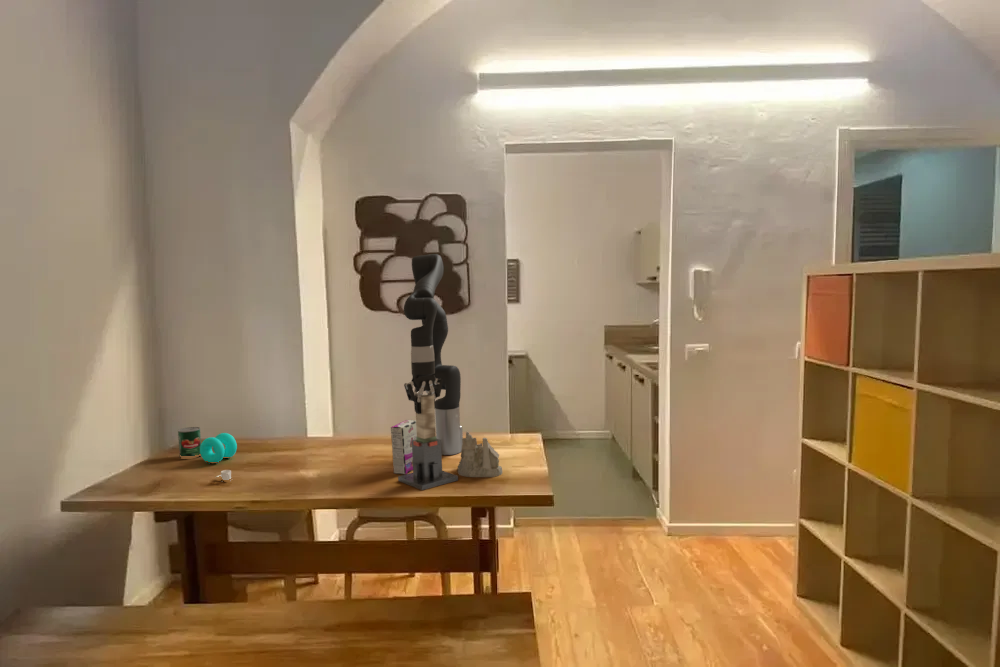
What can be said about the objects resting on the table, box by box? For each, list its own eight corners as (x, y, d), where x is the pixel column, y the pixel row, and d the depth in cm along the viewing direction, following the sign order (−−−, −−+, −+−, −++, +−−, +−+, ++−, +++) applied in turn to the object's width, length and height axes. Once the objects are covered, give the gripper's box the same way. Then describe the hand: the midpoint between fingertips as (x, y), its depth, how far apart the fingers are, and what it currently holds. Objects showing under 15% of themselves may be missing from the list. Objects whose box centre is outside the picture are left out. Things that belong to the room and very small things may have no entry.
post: (428, 453, 217) (426, 394, 215) (437, 456, 213) (434, 395, 211) (416, 456, 214) (414, 396, 212) (425, 459, 210) (422, 397, 208)
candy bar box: (408, 464, 233) (405, 419, 232) (420, 465, 232) (418, 420, 230) (392, 473, 223) (390, 426, 222) (405, 474, 221) (403, 427, 220)
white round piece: (214, 480, 223) (213, 469, 223) (239, 477, 226) (238, 466, 226) (213, 488, 215) (212, 476, 215) (239, 484, 218) (238, 472, 218)
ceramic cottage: (497, 478, 214) (495, 432, 214) (450, 477, 218) (448, 432, 218) (510, 467, 229) (508, 424, 229) (466, 467, 233) (463, 425, 233)
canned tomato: (188, 460, 249) (186, 432, 249) (175, 458, 253) (173, 430, 253) (206, 455, 256) (204, 427, 255) (193, 453, 260) (191, 426, 259)
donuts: (199, 464, 244) (197, 437, 243) (217, 457, 254) (215, 431, 253) (221, 465, 241) (219, 438, 240) (239, 458, 251) (237, 432, 250)
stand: (433, 471, 224) (431, 432, 223) (458, 480, 213) (456, 439, 212) (398, 480, 215) (396, 440, 214) (422, 490, 204) (420, 447, 203)
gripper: (434, 356, 218) (436, 407, 220) (397, 361, 209) (400, 414, 210) (447, 358, 213) (449, 410, 214) (410, 363, 203) (412, 417, 205)
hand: (425, 411), depth 212 cm, fingers closed on post, 4 cm apart
